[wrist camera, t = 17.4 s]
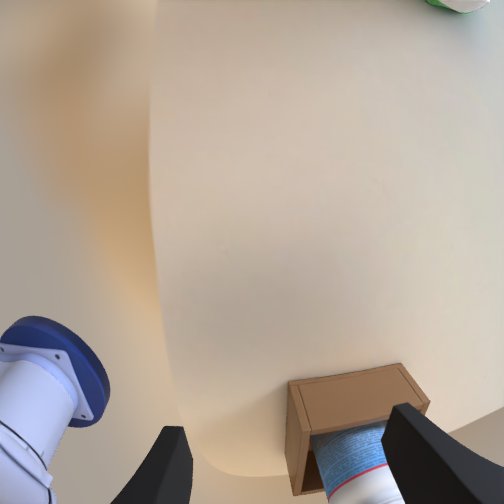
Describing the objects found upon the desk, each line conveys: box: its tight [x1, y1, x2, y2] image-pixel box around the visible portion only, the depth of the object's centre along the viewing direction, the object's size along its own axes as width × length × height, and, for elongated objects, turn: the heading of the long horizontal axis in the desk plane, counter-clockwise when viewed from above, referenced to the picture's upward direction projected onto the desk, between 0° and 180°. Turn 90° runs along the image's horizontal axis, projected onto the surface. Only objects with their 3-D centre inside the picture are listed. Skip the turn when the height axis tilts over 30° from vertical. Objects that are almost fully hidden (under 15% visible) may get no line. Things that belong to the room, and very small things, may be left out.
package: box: [285, 363, 430, 496], centre depth 20 cm, size 9×9×5 cm
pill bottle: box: [310, 420, 405, 504], centre depth 17 cm, size 6×6×11 cm
